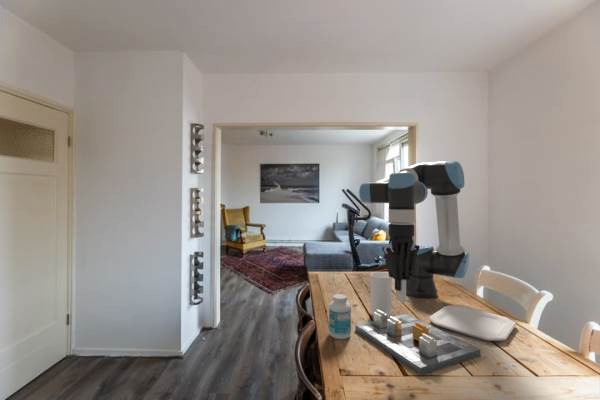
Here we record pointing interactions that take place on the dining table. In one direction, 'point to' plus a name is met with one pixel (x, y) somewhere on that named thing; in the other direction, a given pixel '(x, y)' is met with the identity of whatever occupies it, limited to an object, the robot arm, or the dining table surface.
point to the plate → (473, 323)
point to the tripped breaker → (419, 330)
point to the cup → (381, 293)
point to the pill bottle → (340, 317)
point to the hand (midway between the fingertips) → (401, 300)
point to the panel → (416, 343)
